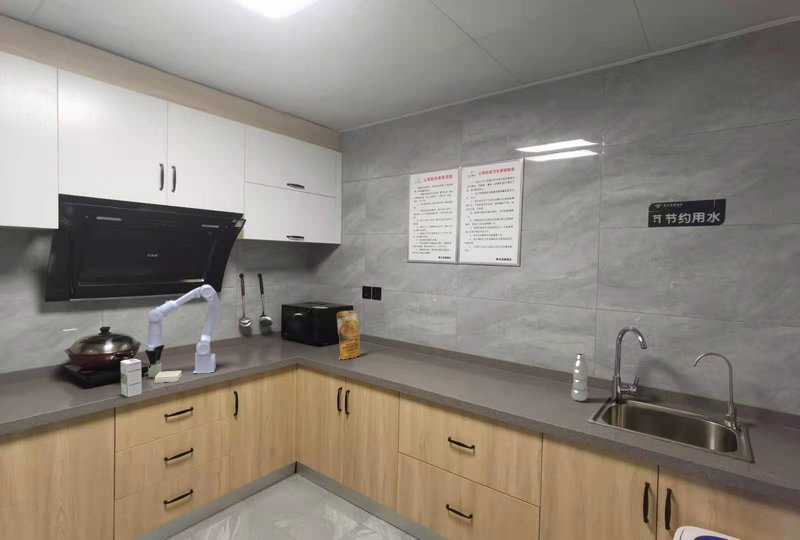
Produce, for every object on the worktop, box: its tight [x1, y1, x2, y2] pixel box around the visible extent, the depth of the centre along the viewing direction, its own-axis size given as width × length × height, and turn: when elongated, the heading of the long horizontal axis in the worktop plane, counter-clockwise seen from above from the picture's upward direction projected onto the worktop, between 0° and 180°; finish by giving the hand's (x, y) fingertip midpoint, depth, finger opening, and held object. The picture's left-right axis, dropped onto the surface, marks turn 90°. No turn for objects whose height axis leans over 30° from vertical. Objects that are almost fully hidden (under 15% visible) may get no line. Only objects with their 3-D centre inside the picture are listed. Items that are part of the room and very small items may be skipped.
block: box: [148, 362, 163, 378], centre depth 196 cm, size 4×4×6 cm
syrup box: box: [120, 358, 143, 398], centre depth 171 cm, size 6×6×14 cm
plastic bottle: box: [570, 353, 589, 402], centre depth 175 cm, size 6×7×20 cm
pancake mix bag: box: [336, 309, 361, 361], centre depth 240 cm, size 7×19×28 cm, turn 139°
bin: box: [154, 370, 182, 384], centre depth 191 cm, size 9×9×3 cm
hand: (155, 362), depth 196 cm, fingers open, 7 cm apart
